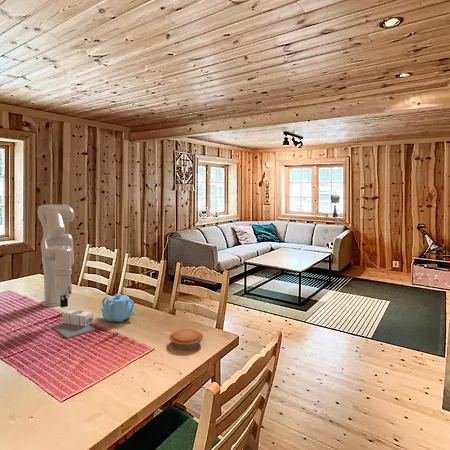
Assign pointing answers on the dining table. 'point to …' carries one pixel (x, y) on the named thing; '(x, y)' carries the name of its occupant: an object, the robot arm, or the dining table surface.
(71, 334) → the mat
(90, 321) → the syrup box
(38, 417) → the dining table surface
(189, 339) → the pie
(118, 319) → the decorative pot
